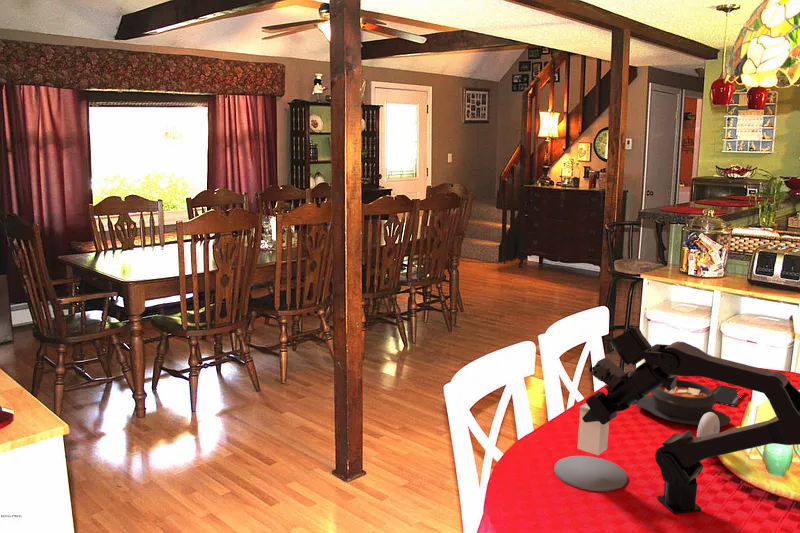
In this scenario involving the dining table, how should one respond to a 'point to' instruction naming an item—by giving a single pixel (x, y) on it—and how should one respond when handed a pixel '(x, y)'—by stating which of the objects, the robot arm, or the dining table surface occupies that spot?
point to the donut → (708, 425)
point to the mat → (590, 473)
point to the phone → (726, 395)
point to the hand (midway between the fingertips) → (588, 417)
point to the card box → (592, 434)
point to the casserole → (682, 403)
